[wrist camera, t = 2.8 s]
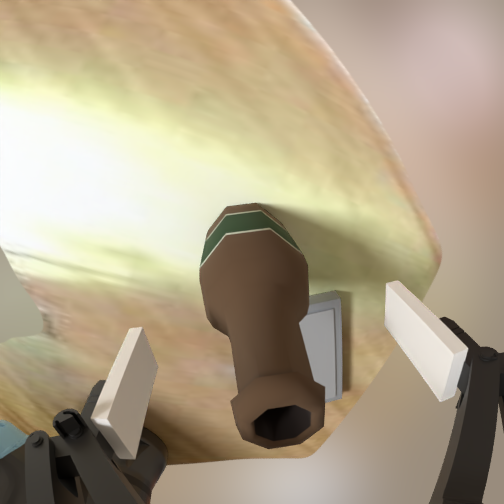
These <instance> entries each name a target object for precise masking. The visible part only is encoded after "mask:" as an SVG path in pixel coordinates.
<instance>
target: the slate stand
mask: <svg viewBox="0 0 504 504" xmlns="http://www.w3.org/2000/svg"><path fill="white" fill-rule="evenodd" d="M299 325H300V329H301V333H302V336H303V340H304V344H305V348H306V351H307V355H308V359H309V363H310V367H311V370H312V374H313V378H314V381H316V382H318V383H319V384H321V385H323V386H325V403H326V402H330V401H334V400H338V399H342V319H341V298H340V297H339V295H338V294H337V292H336V291H330V292H325V293H321V294H316V295H311V296H309V309H308V313H307V315H306V316H305V317H304V318H303V319H302V320H301V322H300V323H299Z"/></svg>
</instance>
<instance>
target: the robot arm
mask: <svg viewBox="0 0 504 504" xmlns="http://www.w3.org/2000/svg"><path fill="white" fill-rule="evenodd" d="M384 326H385V327H386V328H387V330H388V331H389V332H390V334H391V335H392V336H393V338H394V339H395V340H396V342H397V343H398V344H399V346H401V348H402V350H403V351H404V352H405V353H406V355H407V356H408V358H409V359H410V360H411V362H412V363H413V364H414V366H415V367H416V369H417V370H418V371H419V373H420V374H421V376H422V377H423V378H424V380H425V381H426V382H427V384H428V385H429V387H430V388H431V390H432V391H433V392H434V394H435V395H436V397H437V398H438V400H439V401H440V402H442V401H444V400H447V399H449V398H451V397H453V396H454V395H455V392H456V389H457V387H458V388H459V389H460V391H461V395H460V398H459V400H458V403H457V406H456V408H457V413H456V417H455V421H454V426H453V430H452V434H451V438H450V441H449V445H448V449H447V452H446V456H445V459H444V463H443V466H442V469H441V472H440V475H439V478H438V481H437V483H436V486H435V489H434V492H433V494H432V497H431V500H430V502H429V504H483V503H482V498H483V494H484V490H485V486H486V482H487V477H488V472H489V468H490V462H491V457H492V451H493V445H494V438H495V431H496V422H497V413H498V403H499V407H500V413H501V418H502V424H503V430H504V353H498V352H497V351H496V350H495V349H493V348H490V347H480V346H479V345H478V344H477V343H476V342H475V341H474V340H473V339H472V338H471V337H470V336H469V335H468V334H467V333H466V332H465V333H464V330H463V329H461V328H459V326H458V325H457V324H456V323H455V322H454V321H453V320H451V319H448V318H446V317H442V318H437V316H435V314H433V313H432V312H431V311H430V310H429V309H428V308H427V307H426V306H425V305H424V304H423V303H422V302H421V301H420V300H419V299H418V298H417V297H416V296H415V295H414V294H412V293H411V292H410V291H409V290H408V289H407V288H406V287H405V286H404V285H403V284H402V283H401V282H399V281H398V280H397V281H393V282H389V283H386V301H385V323H384ZM157 369H158V365H157V362H156V360H155V358H154V355H153V353H152V350H151V348H150V345H149V342H148V340H147V337H146V335H145V332H144V329H143V327H138V328H130V329H129V331H128V333H127V335H126V338H125V340H124V342H123V344H122V346H121V348H120V351H119V353H118V355H117V357H116V359H115V362H114V364H113V366H112V368H111V371H110V373H109V375H108V378H107V380H100V381H99V382H98V383H97V384H96V385H95V386H94V387H93V388H92V391H91V393H90V396H89V397H88V399H87V403H86V404H85V406H84V408H83V411H82V413H81V415H80V414H79V413H78V412H77V410H74V409H66V410H63V411H61V412H59V413H58V414H57V415H56V416H55V417H54V420H53V427H54V428H55V429H56V431H57V432H58V433H59V435H60V436H55V437H49V436H48V434H47V433H46V432H45V431H41V430H40V431H35V432H33V433H31V434H30V435H26V434H25V433H23V432H22V431H21V430H19V429H18V428H17V427H15V426H14V425H13V424H11V423H10V422H8V421H6V420H0V504H150V499H151V492H152V489H153V488H154V486H155V484H156V483H157V481H158V480H159V478H160V476H161V474H162V473H163V471H164V469H165V467H166V464H167V457H168V451H167V448H166V446H165V445H164V443H163V442H162V441H161V440H160V439H159V438H158V437H157V436H156V435H155V434H153V433H152V432H150V431H149V430H147V429H145V428H144V427H143V424H144V420H145V416H146V412H147V408H148V404H149V400H150V396H151V392H152V388H153V384H154V380H155V377H156V373H157Z"/></svg>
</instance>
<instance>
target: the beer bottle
mask: <svg viewBox="0 0 504 504" xmlns="http://www.w3.org/2000/svg"><path fill="white" fill-rule="evenodd" d="M200 285H201V290H202V295H203V300H204V305H205V310H206V315H207V319H208V320H209V322H210V323H211V325H212V326H213V327H214V328H215V329H217V330H219V331H220V332H222V333H224V334H225V335H227V336H228V337H229V339H230V342H231V346H232V353H233V360H234V367H235V374H236V381H237V387H238V395H237V396H236V397H234V398H233V399H232V400H231V406H232V410H233V414H234V418H235V423H236V426H237V428H238V430H239V432H240V435H241V437H242V439H243V440H246V441H248V442H251V443H254V444H256V445H259V446H262V447H264V448H267V449H272V448H279V447H286V446H292V445H298V444H301V443H303V442H304V441H305V440H307V439H308V438H309V437H311V436H312V435H313V434H315V433H316V432H317V431H319V430H320V429H321V428H323V427H324V415H325V386H323V385H321V384H319V383H318V382H316V381H314V378H313V374H312V370H311V367H310V363H309V359H308V355H307V351H306V348H305V344H304V340H303V336H302V333H301V329H300V325H299V323H300V322H301V320H302V319H303V318H304V317H305V316H306V315H307V313H308V309H309V282H308V265H307V262H306V260H305V258H304V255H303V254H302V252H301V251H300V249H299V248H298V246H297V245H296V243H295V242H294V240H293V239H292V238H291V236H290V235H289V233H288V232H287V230H286V229H285V227H284V226H283V224H282V223H281V222H280V221H279V220H277V219H276V218H275V217H273V216H272V215H271V214H270V213H268V212H267V211H266V210H265V209H263V208H262V207H261V206H259V205H258V204H257V203H251V204H243V205H235V206H227V207H226V208H225V209H224V211H223V212H222V213H221V214H220V216H219V217H218V218H217V220H216V221H215V222H214V223H213V225H212V226H211V227H210V229H209V230H208V233H207V236H206V240H205V245H204V250H203V254H202V259H201V264H200Z"/></svg>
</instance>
